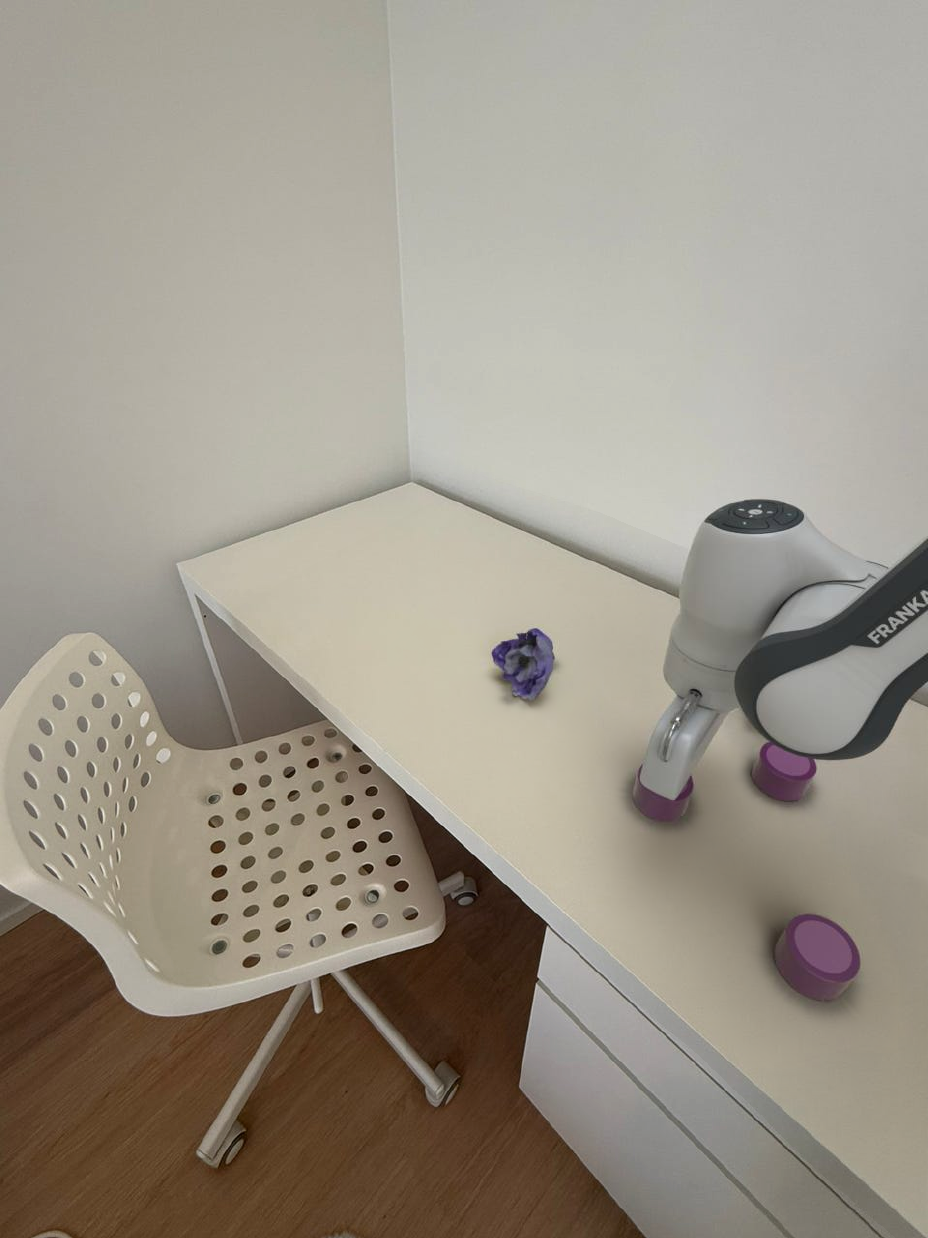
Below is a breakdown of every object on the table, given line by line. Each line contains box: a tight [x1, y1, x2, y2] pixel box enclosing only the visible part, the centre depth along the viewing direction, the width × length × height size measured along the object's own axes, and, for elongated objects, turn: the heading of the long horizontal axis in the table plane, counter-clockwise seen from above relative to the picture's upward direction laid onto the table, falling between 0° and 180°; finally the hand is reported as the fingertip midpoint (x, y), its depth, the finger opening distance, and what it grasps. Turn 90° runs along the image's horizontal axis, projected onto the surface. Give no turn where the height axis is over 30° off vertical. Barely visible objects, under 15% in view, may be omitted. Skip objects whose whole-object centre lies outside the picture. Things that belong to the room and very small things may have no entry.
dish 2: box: [773, 913, 861, 1002], centre depth 58 cm, size 6×6×4 cm
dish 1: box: [632, 763, 695, 823], centre depth 72 cm, size 6×6×4 cm
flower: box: [491, 627, 556, 701], centre depth 88 cm, size 9×9×10 cm
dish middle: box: [751, 741, 818, 802], centre depth 74 cm, size 6×6×4 cm
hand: (686, 764), depth 69 cm, fingers open, 8 cm apart
